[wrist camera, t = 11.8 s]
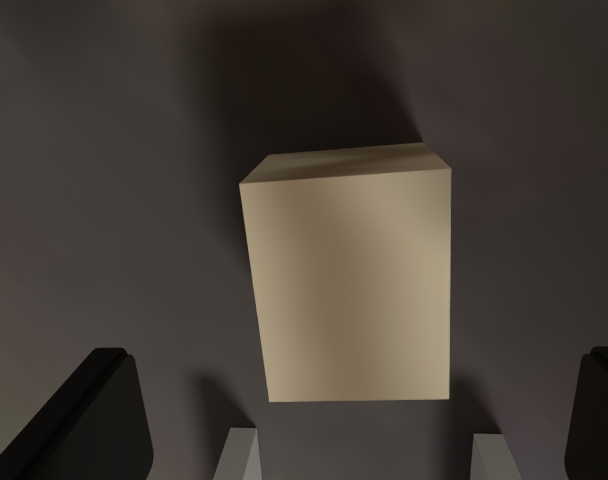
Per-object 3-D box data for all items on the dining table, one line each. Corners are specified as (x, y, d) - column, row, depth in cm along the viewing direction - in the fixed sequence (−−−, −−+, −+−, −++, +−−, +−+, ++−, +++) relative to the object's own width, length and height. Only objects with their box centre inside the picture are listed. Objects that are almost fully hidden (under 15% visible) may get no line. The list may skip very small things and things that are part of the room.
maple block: (422, 141, 17) (451, 168, 12) (424, 318, 19) (448, 398, 14) (269, 153, 17) (239, 183, 13) (289, 323, 20) (269, 402, 15)
